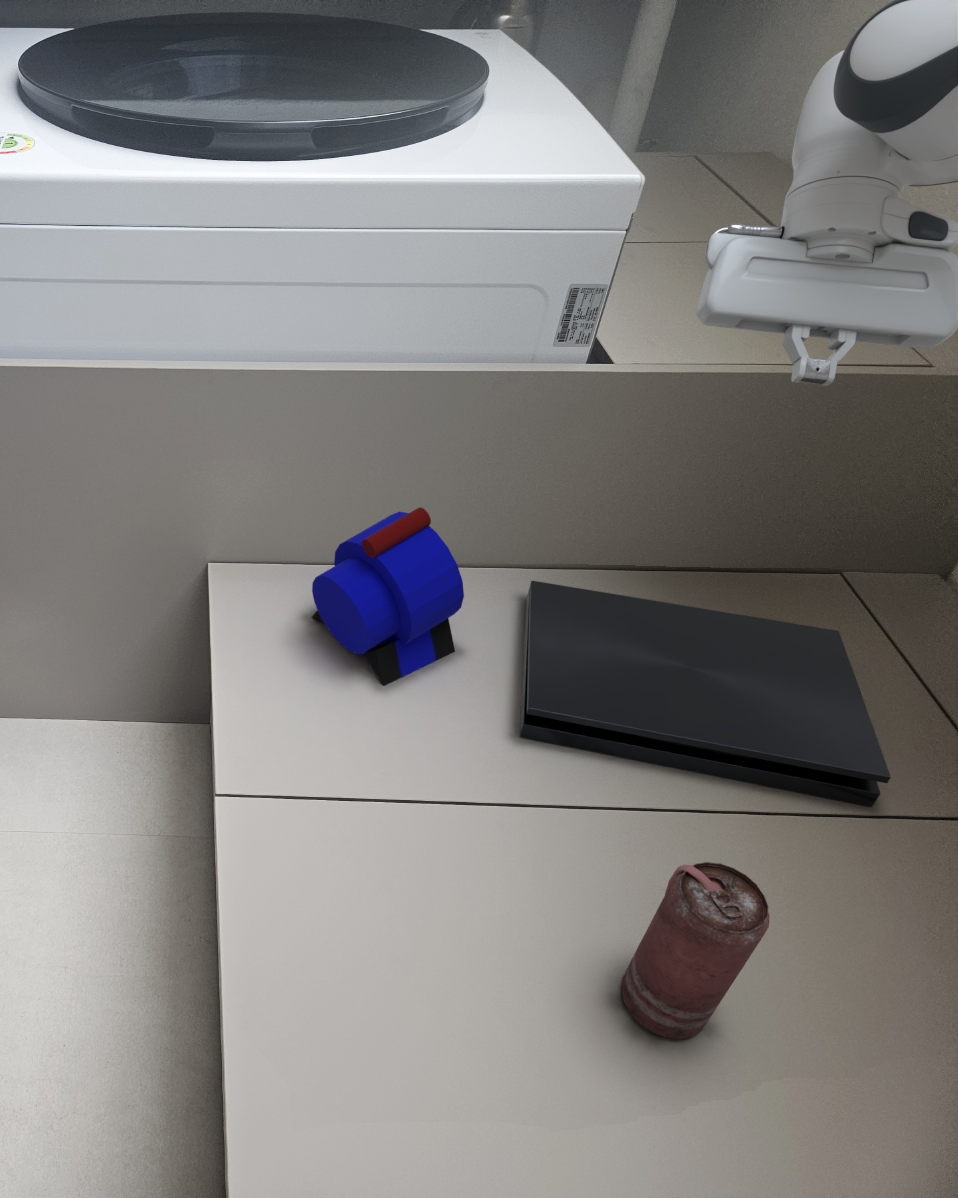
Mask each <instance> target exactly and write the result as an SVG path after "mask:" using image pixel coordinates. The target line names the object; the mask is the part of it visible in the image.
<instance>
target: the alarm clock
mask: <svg viewBox="0 0 958 1198" xmlns="http://www.w3.org/2000/svg"><path fill="white" fill-rule="evenodd" d="M431 522H432V520H431V516H430V514H429V512H428V511H427V510H426V509H425V508H424V507H417V508H416V509H413V510H412V511H411V512H405V511H397V512H394V513H392V514H390V515H388V516H386V517H385V518H383V519H381V520H379V521H378V522H376V523H374V524H372V525H371V526H369V527H367V528H365V529H363V530H362V531H360V532H359V533H356V534H355V535H353V536H351V537H349V538H348V539H346V540H345V541H343V542H341V543H339V545H338V546H337V548H336V550H335V551H334V561H333V562H334V563H333V565H334V566H332V567H330V568H329V569H327V570H326V571H323V573H321V574H319V575H317V576H315V578H314V579H313V581H312V586H311V592H312V597H313V602H314V604H315V607H316V611H315V612H314V613H313V614H312V616H311V618H313V619H317V620H319V621H322V622H323V624H324V626H325V627H326V628H327V630H328V631H329V632H330V634H331V635H332V637H333V638H335V640H336V641H337V642H338V643H339V644H340V645H341V646H342V647H344V649H346V650H347V651H349V652H351V653H353V654H356V655H362V656H363V657H364V659H365V660H366V662H367V663H368V665H369V666H370V668H371V669H372V671H373V673H374V674H375V675H376V677H377V678H378V680H379V681H380V683H381V685H382V686H383V687H385V686H386V685H389V684H391V683H393V682H395V681H397V680H399V679H401V678H403V677H405V676H408V675H409V674H412V673H413V672H416V671H418V670H420V669H422V668H424V667H425V666H428V665H430V664H432V663H434V662H436V661H438V660H440V659H442V658H445V657H446V656H447V657H448V655H451V654H453V653H454V652H456V650H455V649H456V648H455V644H454V639H453V633H452V629H451V624H450V620H449V618H451V617H452V616H454V615H455V614H456V613H458V611H459V610H460V609H462V606H463V602H464V598H465V592H464V591H465V590H464V581H463V578H462V574H461V573H460V569H459V565H458V563H457V561H456V560H455V558H454V556H453V554H452V552H451V550H450V549H449V547H448V546H447V544H446V543H445V541H444V540H443V539H442V537H440V535H439V533H438V532H437V531H436V530H435V529H433V528H432V527H431V524H432V523H431Z"/></svg>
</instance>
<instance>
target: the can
mask: <svg viewBox="0 0 958 1198" xmlns="http://www.w3.org/2000/svg"><path fill="white" fill-rule="evenodd" d="M769 928H770V912H769V904H768V901H767V898H766V896H765V894H764V893H763V891H762V890H761V888H760V887H759V885H758V884H757V883H756V882H755V881H753V880H752V879H751V878H750V877H749V876H748V875H747V874H744V873H743V872H741V871H740V870H738V869H736V868H734V867H732V866H729V865H726V864H723V863H721V862H720V863H719V862H710V861H704V862H697V863H694V864H693V865H692V864H682V865H679V866H677V868H676V869H675V870H674V872H673V874H672V875H671V877H670V878H669V879H668V882H667V886H666V889H665V892H664V896H663V898H662V900H661V902H660V904H659V906H658V907H657V910H656V911H655V914H654V915H653V917H652V920H651V921H650V923H649V925H648V927H647V929H646V931H645V932H644V935H643V936H642V939H641V941H640V942H639V944H638V945H637V948H636V950H635V952H634V954H633V956H632V958H631V960H630V962H629V964H628V966H627V968H626V969H625V971H624V974H623V975H622V977H621V983H620V992H621V996H622V1001H623V1002H624V1004H625V1006H626V1008H627V1010H628V1012H629V1013H630V1015H631V1016H632V1017H633V1018H634V1019H635V1020H636V1021H637V1022H638V1023H639V1025H641V1026H642V1027H644V1028H645V1029H647V1030H648V1031H650V1032H651V1033H654V1034H656V1035H659V1036H661V1037H663V1038H671V1039H678V1040H681V1039H686V1038H692V1037H695V1036H696V1035H697V1034H699V1033H700V1032H702V1031H703V1030H704V1028H705V1026H706V1025H707V1023H708V1022H709V1021H710V1019H711V1017H712V1016H713V1014H714V1013H715V1011H716V1010H717V1008H718V1007H719V1005H720V1003H721V1002H722V1001H723V999H724V998H725V996H726V994H727V993H728V991H729V990H730V988H731V986H732V985H733V983H734V982H735V980H736V979H737V977H738V976H739V974H740V973H741V971H742V969H743V968H744V966H746V964H747V962H748V960H749V959H750V957H751V956H752V954H753V953H754V951H755V950H756V948H757V946H758V945H759V943H760V942H761V940H762V939H763V938H764V936H765V934H766V932H767V931H768V929H769Z"/></svg>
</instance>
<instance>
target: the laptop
mask: <svg viewBox="0 0 958 1198" xmlns="http://www.w3.org/2000/svg"><path fill="white" fill-rule="evenodd" d="M529 601H530V587H528V591H527V595H526V599H525V615H524V616H525V617H524V636H523V640H524V641H523V658H522V678H521V699H520V700H521V701H520V719H519V721H520V722H519V723H520V724H519V738H522V739H526V740H530V741H531V740H532V741H537V742H541V743H546V744H547V743H548V744H553V745H557V746H562V747H568V748H572V749H577V750H583V751H588V752H592V753H598V754H602V755H608V756H613V757H618V758H623V759H628V760H633V761H639V762H643V763H648V764H652V765H658V766H663V767H667V768H668V767H669V768H674V769H679V770H684V771H689V772H693V773H699V774H704V775H709V776H714V777H719V778H723V779H724V778H725V779H729V780H735V781H739V782H745V783H750V784H754V785H759V786H765V787H769V788H775V789H779V790H784V791H785V790H786V791H790V792H796V793H800V794H805V795H810V796H815V797H820V798H825V799H829V800H830V799H831V800H836V801H841V802H845V803H850V804H856V805H861V806H866V807H873V806H874V804H876V801H877V800H878V799H879V797H880V795H881V790H880V787H879V784H878V782H877V781H872V780H867V779H862V778H857V777H851V776H846V775H841V774H836V773H831V772H825V771H820V770H815V769H810V768H805V767H799V766H794V765H789V764H784V763H779V762H773V761H768V760H763V759H758V758H753V757H747V756H742V755H737V754H732V753H727V752H721V751H716V750H711V749H706V748H701V747H695V746H690V745H685V744H680V743H675V742H669V741H664V740H659V739H654V738H649V737H643V736H638V735H633V734H628V733H623V732H617V731H612V730H607V729H602V728H597V727H591V726H586V725H581V724H576V723H571V722H565V721H560V720H555V719H550V718H545V717H539V716H534V715H529V714H527V681H528V641H529Z"/></svg>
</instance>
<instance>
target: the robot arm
mask: <svg viewBox="0 0 958 1198" xmlns="http://www.w3.org/2000/svg"><path fill="white" fill-rule="evenodd" d="M847 43H848V44H847V45H846V47H845V49H843V50H842V51H840V52H838V53H836V54H835V55H833V56H832V57H831V58H830V59H828V60H827V61H826V62H825V63H824V64H823V65H822V67H821V68H820V69H819V71H818V72H817V73H816V75H815V77H814V79H812V82H811V83H810V86H809V88H808V90H807V93H806V95H805V97H804V100H803V104H802V107H801V111H800V114H799V118H798V122H797V127H796V132H795V136H794V143H793V149H792V154H791V165H792V169H793V178H792V182H791V184H790V187H789V189H788V190H787V193H786V195H785V197H784V204H783V208H782V209H783V210H782V216H781V222H780V226H774V225H749V224H748V225H747V224H745V223H738V222H737V223H736V222H735V223H733V222H732V223H729V224H727V226H725V227H720V228H718V229H716V230H715V231H713V232H712V233H711V234H710V236H709V237H708V239H707V242H706V247H705V253H704V261H705V264H706V266H707V267H708V270H707V272H706V273H707V274H706V276H705V278H704V282H703V284H702V287H701V291H700V295H699V298H698V302H697V307H696V312H695V313H696V316H697V318H698V320H699V322H700V323H701V324H702V325H703V326H706V327H707V326H708V327H714V328H715V327H716V328H726V329H735V330H745V331H754V332H761V333H762V332H763V333H772V334H782V335H783V341H782V347H783V349H784V350H785V352H786V354H787V356H788V359H789V360H790V362H791V364H793V365H792V372H791V379H790V380H791V383H797V384H798V383H799V384H807V385H808V384H809V385H810V384H811V385H816V386H817V385H818V386H825V387H826V386H827V387H828V386H830V385H831V384H833V382H834V380H835V378H836V373H837V368H838V363H839V362H840V361H841V360H842V359H843V358H844V357H845V356H846V355H847V353H848V352H849V351H850V350H851V349H852V348H853V346H854V345H855V344H856V342H858V343H866V344H875V345H877V344H878V345H885V346H895V347H905V348H913V349H914V348H915V349H922V350H929V349H933V348H935V347H937V346H939V345H940V344H942V343H943V342H945V341H946V340H948V339H949V338H950V337H951V336H953V335H954V334H955V333H956V332H957V331H958V257H957V255H956V254H954V253H953V252H951V251H952V250H953V249H954V248H955V247H957V245H958V222H957V221H956V220H953V219H951V218H948V217H945V216H941V215H939V214H936V213H934V212H931V211H929V210H927V209H924V208H921V207H919V206H917V205H915V204H912V203H910V202H909V201H906V200H904V199H903V198H902V195H903V194H902V193H903V191H904V189H905V188H908V187H930V186H931V187H932V186H941V185H946V184H948V185H949V184H955V183H958V0H892V1H890V2H889V3H887V4H886V5H884V6H883V7H881V8H880V9H879V10H877V11H876V12H875V13H873V14H872V15H871V16H870V17H869V18H868V19H867V20H865V22H863V24H862V25H860V26H859V28H858V29H857V31H856V32H855V33H854V35H853V36H852V38H850V40H849V41H848V42H847ZM809 338H818V339H819V338H820V339H828V346H827V349H828V350H830V351H833V352H832V353H831V354H830V356H829V357H828V358H827V359H816V358H810V356H809V353H808V351H807V349H806V346H805V343H804V342H805V341H807V339H809Z"/></svg>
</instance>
